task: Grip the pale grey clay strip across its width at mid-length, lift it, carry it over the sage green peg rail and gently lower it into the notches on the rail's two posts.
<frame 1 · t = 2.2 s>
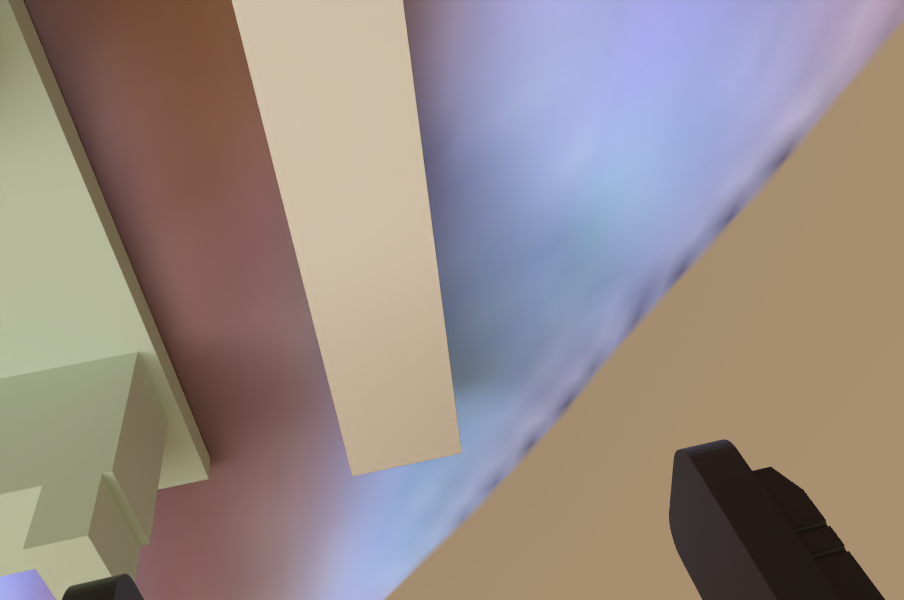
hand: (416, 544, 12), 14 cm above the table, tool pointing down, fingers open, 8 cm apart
clay strip: (345, 143, 23), on the table
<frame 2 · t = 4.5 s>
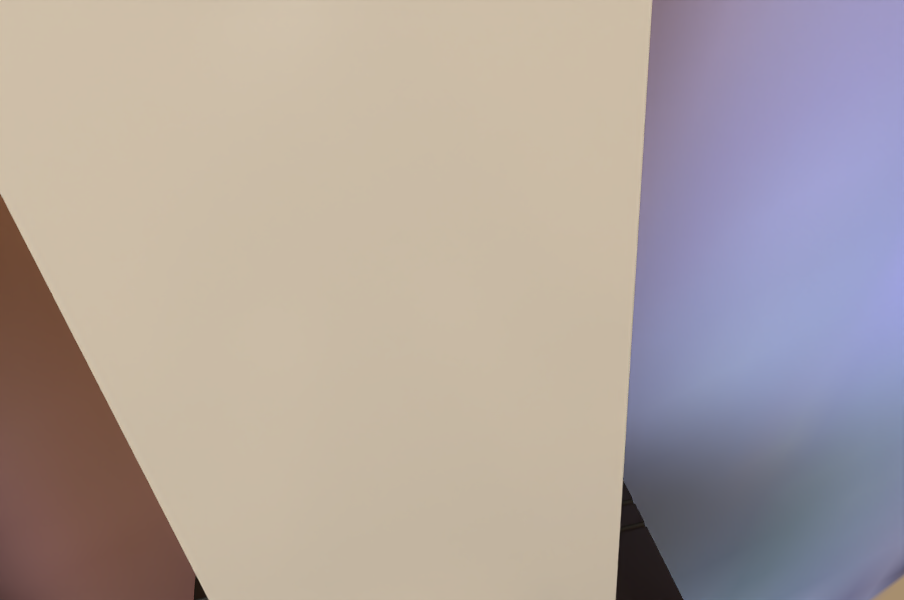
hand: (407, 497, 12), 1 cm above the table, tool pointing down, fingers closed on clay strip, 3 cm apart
clay strip: (403, 471, 13), on the table, touching gripper
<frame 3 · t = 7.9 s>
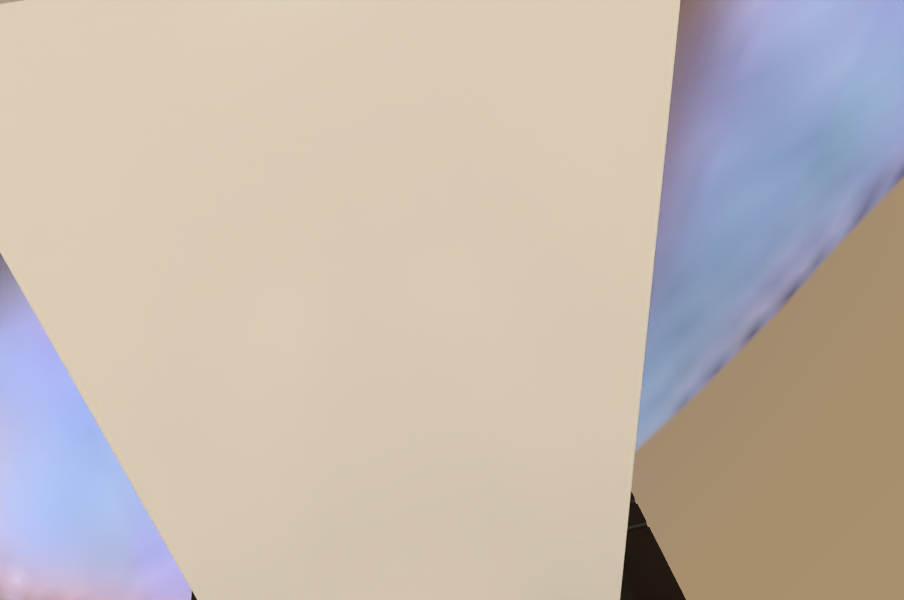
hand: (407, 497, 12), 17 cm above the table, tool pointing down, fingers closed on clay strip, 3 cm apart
clay strip: (402, 464, 13), point 17 cm above the table, touching gripper
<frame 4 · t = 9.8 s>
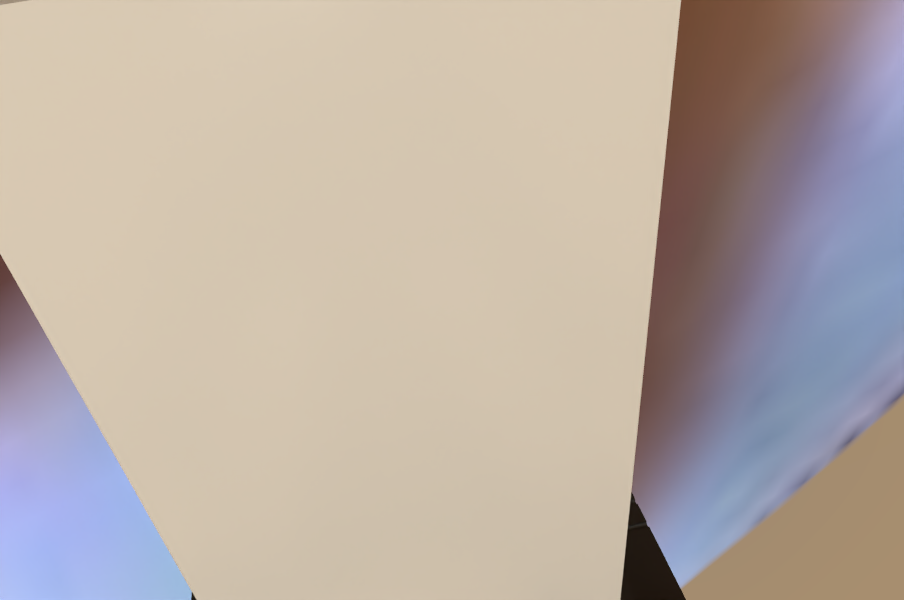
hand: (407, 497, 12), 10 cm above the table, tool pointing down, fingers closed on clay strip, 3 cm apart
clay strip: (402, 464, 13), point 10 cm above the table, touching gripper
when the fingers open (8 cm above the table, at t = 11.2 s): clay strip drops 1 cm, resting on sage green peg rail.
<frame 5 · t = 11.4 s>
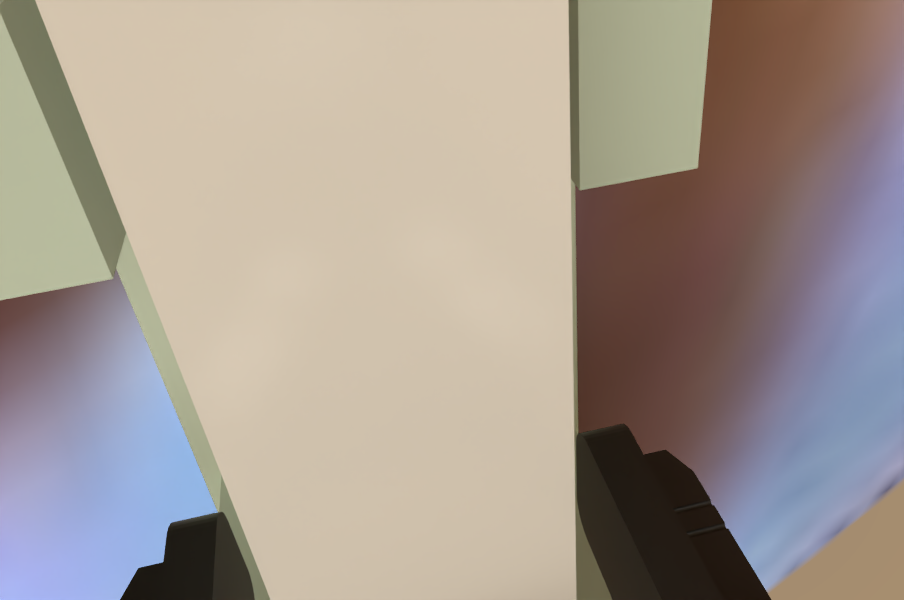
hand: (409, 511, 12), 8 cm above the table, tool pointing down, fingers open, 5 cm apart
clay strip: (393, 410, 14), point 6 cm above the table, touching sage green peg rail
sage green peg rail: (358, 251, 19), on the table
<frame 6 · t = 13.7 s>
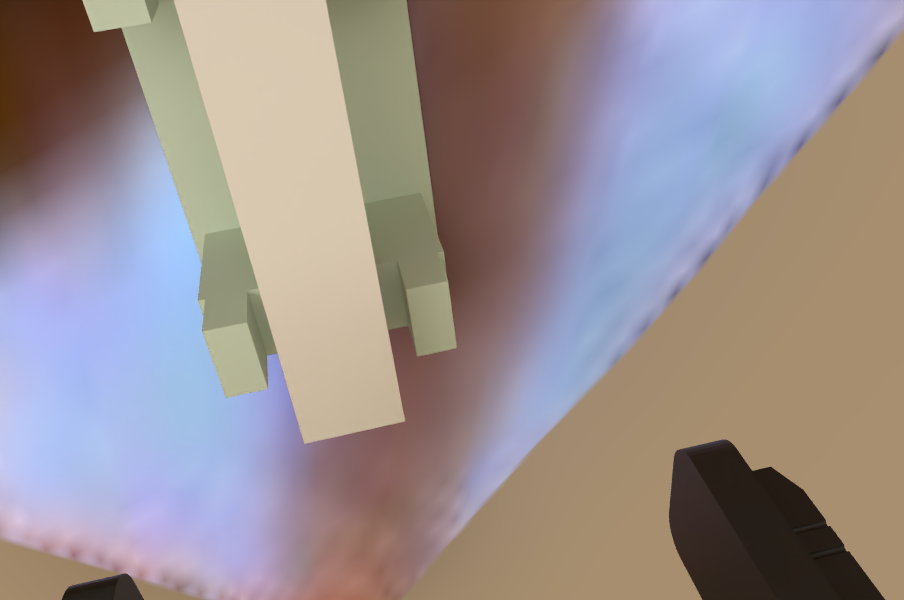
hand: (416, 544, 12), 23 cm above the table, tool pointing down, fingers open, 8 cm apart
clay strip: (292, 138, 26), point 6 cm above the table, touching sage green peg rail
sage green peg rail: (286, 88, 31), on the table
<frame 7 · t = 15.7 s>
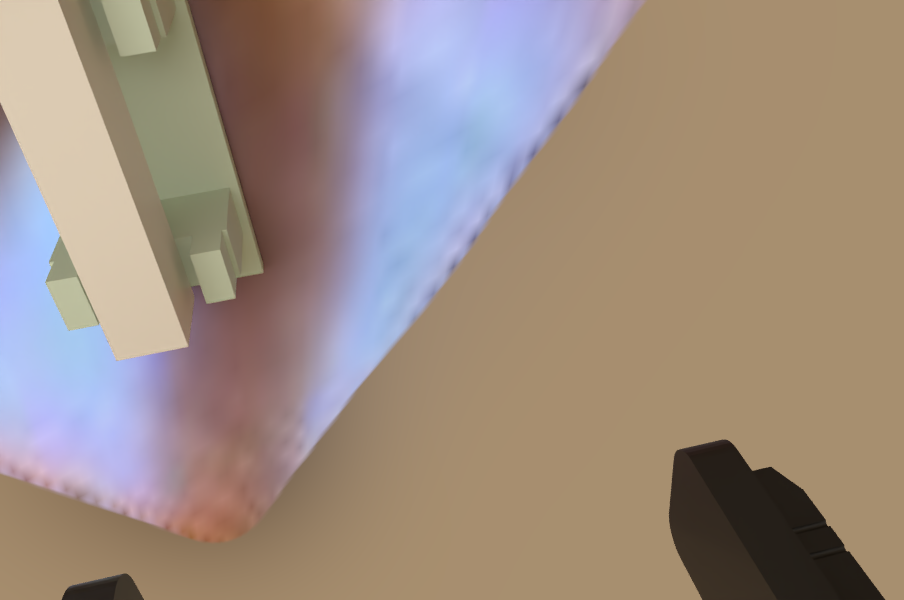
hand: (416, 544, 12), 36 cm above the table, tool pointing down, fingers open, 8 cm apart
clay strip: (103, 150, 38), point 6 cm above the table, touching sage green peg rail
sage green peg rail: (121, 111, 43), on the table
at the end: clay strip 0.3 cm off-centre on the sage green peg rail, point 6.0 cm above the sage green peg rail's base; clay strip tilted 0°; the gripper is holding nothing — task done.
